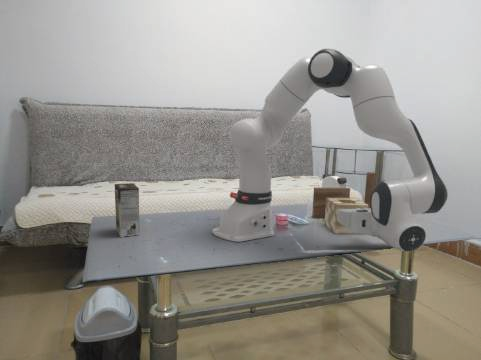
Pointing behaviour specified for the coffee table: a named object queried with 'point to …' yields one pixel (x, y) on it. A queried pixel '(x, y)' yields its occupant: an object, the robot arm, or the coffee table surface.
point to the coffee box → (127, 209)
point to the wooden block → (369, 187)
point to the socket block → (334, 206)
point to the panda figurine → (333, 181)
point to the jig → (321, 196)
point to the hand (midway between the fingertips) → (360, 210)
